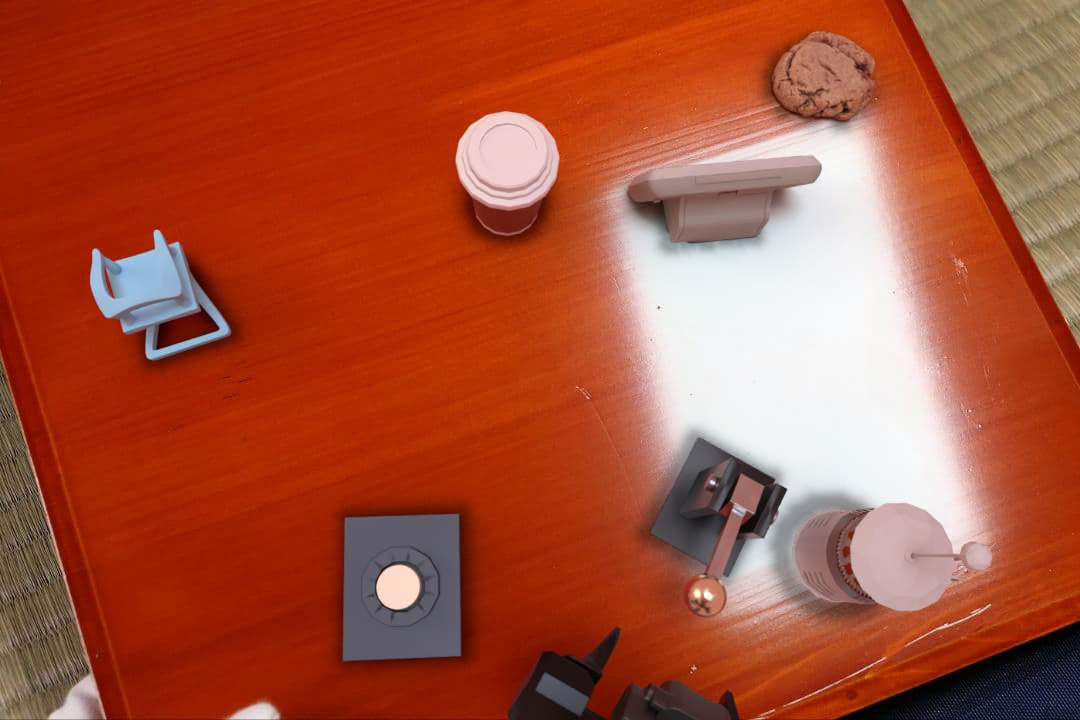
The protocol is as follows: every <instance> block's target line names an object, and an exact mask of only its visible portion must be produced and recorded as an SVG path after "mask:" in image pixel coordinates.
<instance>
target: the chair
mask: <svg viewBox="0 0 1080 720" xmlns="http://www.w3.org/2000/svg"><path fill="white" fill-rule="evenodd" d="M153 239H154V240H153V241H154V249H152V250H148V251H146V252H142V253H139V254H136V255H132V256H128V257H126V258H122V259H118V260H115V261H113V260H112V259H110V258H108V257H106V256H104V255H103V253H102V252H101V251H100V250H99V249H98V248H94V249H92V252H91V253H92V255H91V257H92V260H91V261H92V263H91V267H90V274H89V275H90V277H89V284H90V288H91V292H92V295H93V298H94V300H95V302H96V304H97V306H98V308H99V310H100V311H101V313H102V315H103V316H104V317H105V318H107V319H115V320H119V321H120V326H121V329H122V333H124V334H125V335H127V336H128V335H132V334H134V333H137V332H138V333H139V332H140V331H143V330H146V331H145V332H146V333H145V356H146V358H147V359H148V360H150V361H158V360H162V359H165V358H168V357H171V356H174V355H177V354H180V353H183V352H185V351H188V350H192V349H194V348H198V347H201V346H204V345H207V344H210V343H213V342H216V341H219V340H222V339H225V338H228V337H230V336H231V335H232V330H231V327H230V325H229V323H228V322H227V320H226V319H225V318H224V316H223V315H222V313H221V312H220V310H218V308H217V306H215V304H214V303H213V301H212V300H211V299H210V298H209V297H208V295H207V294H206V292H205V291H204V290H203V289H202V287H201V286H200V284H199V283H198V282H197V280H196V279H195V277H194V275H193V274H192V271H190V266H189V263H188V260H187V257H186V254H185V252H184V249H183V245H182V243H180V242H179V241H176V242H172V243H170V244H168V241H167V239H166V237H165V236H164V234H163V233H162V232H161V231H160V230H159V229H155V230H154V231H153ZM105 269H106V272H105ZM105 273H107V277H108V280H109V284H110V287H111V290H112V294H113V296H112V294H111V292H110V290H109V288H108V284H107V280H106V275H105ZM201 307H202V308H203V310H205V312H206V313H207V315H209V316H210V318H211V319H212V320H213V321H214V322H215V324H216V325H217V326H218V328H219V329H218V330H216V331H214V332H211V333H207V334H204V335H201V336H197V337H195V338H191V339H188V340H185V341H182V342H178V343H175V344H171V345H169V346H165V347H163V348H159V349H157V347H158V345H157V344H158V337H159V329H160V324H163V323H166V322H170V321H172V320H176V319H180V318H183V317H187V316H190V315H194V314H197V313H200V312H202V310H201Z"/></svg>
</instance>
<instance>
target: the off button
mask: <svg viewBox="0 0 1080 720" xmlns="http://www.w3.org/2000/svg"><path fill="white" fill-rule="evenodd" d="M376 589H377V595H378V597H379V599H380V601H381V602H382V603H383V604H384V605H385V606H387V607H388V608H391V609H395V610H399V609H404V608H407V607H409V606H410V605H412V604H413V603H414V602H415V601H416V600H417V599H418V597H419V595H420V593H421V589H422V583H421V579H420V576H419V574H418V573H417V572H416V571H415V570H414V569H413V568H412V567H410V566H407V565H394V566H391V567H389V568H387V569H386V570H384V571H383V572H382V574H381V575H380V577H379V579H378V581H377V587H376Z"/></svg>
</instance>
